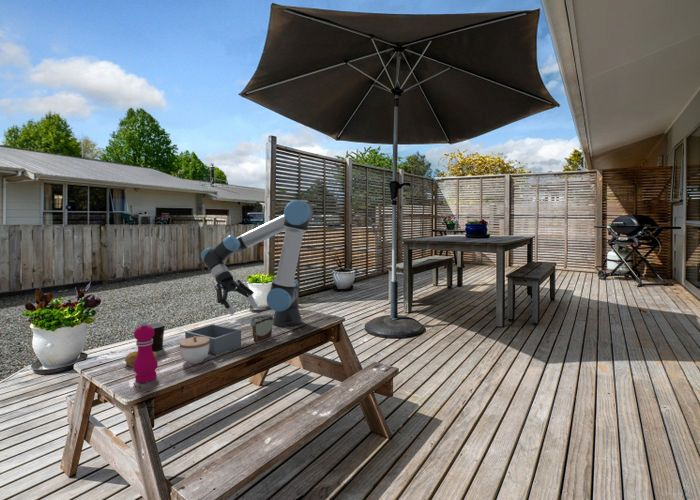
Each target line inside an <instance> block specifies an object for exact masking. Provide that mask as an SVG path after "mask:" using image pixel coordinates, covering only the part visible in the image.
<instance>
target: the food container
mask: <svg viewBox="0 0 700 500" xmlns="http://www.w3.org/2000/svg"><path fill="white" fill-rule="evenodd" d="M273 318H274V315H267V314H266V315H265V314H264V315H257V316H254V317H252V318H251V319H250V326H251V330H252V339H253V343H255V344H258V343H261V342H263V341H266V340H268V339H271V338H273V337H272V336H273V320H274V319H273Z"/></svg>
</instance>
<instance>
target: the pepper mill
mask: <svg viewBox="0 0 700 500" xmlns="http://www.w3.org/2000/svg"><path fill="white" fill-rule="evenodd" d="M147 324H148V322H147V321H145V320H143V321H142V322H141V323H140V325H139V326H138V327H137V328H136V329H135V330H134V332H133V337H134V339H135V340H136V341H135V346H137V352H138V354H137V357H136V360H135V362H134V366H133V367H132V370H133V372H134V373H135V376H134V377H135V379H134V381H135V382H136V383H138V382H139V383H140V384H141V383H142V384H143V382H145V383H147V382H148V383H149V382H151V381H154V380H155V379H156V378H157V371H156V370H157V368H158V367H159V366H158V360H157V359H156V358H155V356H154V354H153V352H154V351H152V344H153V339H152V337H153V336H154V329H153V328H152V327H151V326H148V325H147Z"/></svg>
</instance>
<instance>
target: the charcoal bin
mask: <svg viewBox="0 0 700 500" xmlns="http://www.w3.org/2000/svg"><path fill="white" fill-rule="evenodd" d="M184 334H185V338H184V339H187V338H191V337H194V336H196V337H207V338H209V339H210V348H209V353H208V355H209V356H213V357H216V356H220V355H221V354H224V353H227V352H230V351H232V350H234V349H237V348H240V347H242V329H237V328H232V327H229V326H224V325H219V324H215V323H211V324H208V325H204V326H201V327H198V328H194V329H191V330H187V331H185V333H184ZM208 355H207V356H208Z"/></svg>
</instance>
